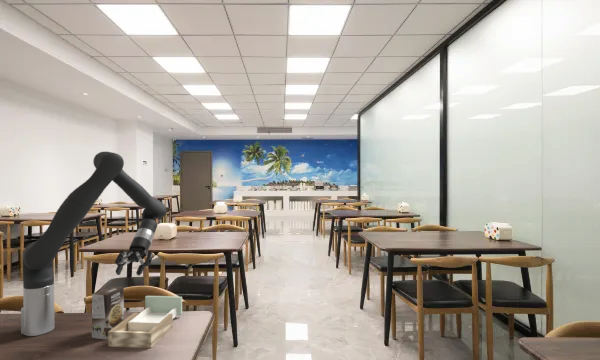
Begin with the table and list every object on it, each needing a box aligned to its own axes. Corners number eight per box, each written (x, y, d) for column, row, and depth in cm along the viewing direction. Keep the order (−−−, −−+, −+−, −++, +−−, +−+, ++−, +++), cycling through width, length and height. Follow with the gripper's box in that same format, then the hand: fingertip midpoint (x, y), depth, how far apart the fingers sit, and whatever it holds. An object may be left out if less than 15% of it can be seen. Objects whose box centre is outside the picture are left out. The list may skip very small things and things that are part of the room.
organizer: (108, 346, 118) (108, 331, 118) (134, 325, 134) (134, 312, 134) (151, 348, 117) (151, 333, 117) (172, 326, 133) (172, 313, 133)
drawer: (124, 330, 127) (124, 311, 127) (146, 312, 143) (146, 295, 143) (164, 331, 126) (164, 312, 126) (182, 314, 142) (182, 296, 142)
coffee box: (106, 340, 122) (106, 294, 122) (91, 338, 123) (91, 293, 123) (124, 328, 131) (124, 286, 131) (110, 327, 132) (109, 285, 132)
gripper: (123, 235, 149) (106, 269, 138) (155, 236, 148) (141, 270, 137) (130, 245, 154) (114, 278, 143) (160, 245, 153) (148, 279, 142)
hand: (127, 274), depth 140 cm, fingers open, 8 cm apart
